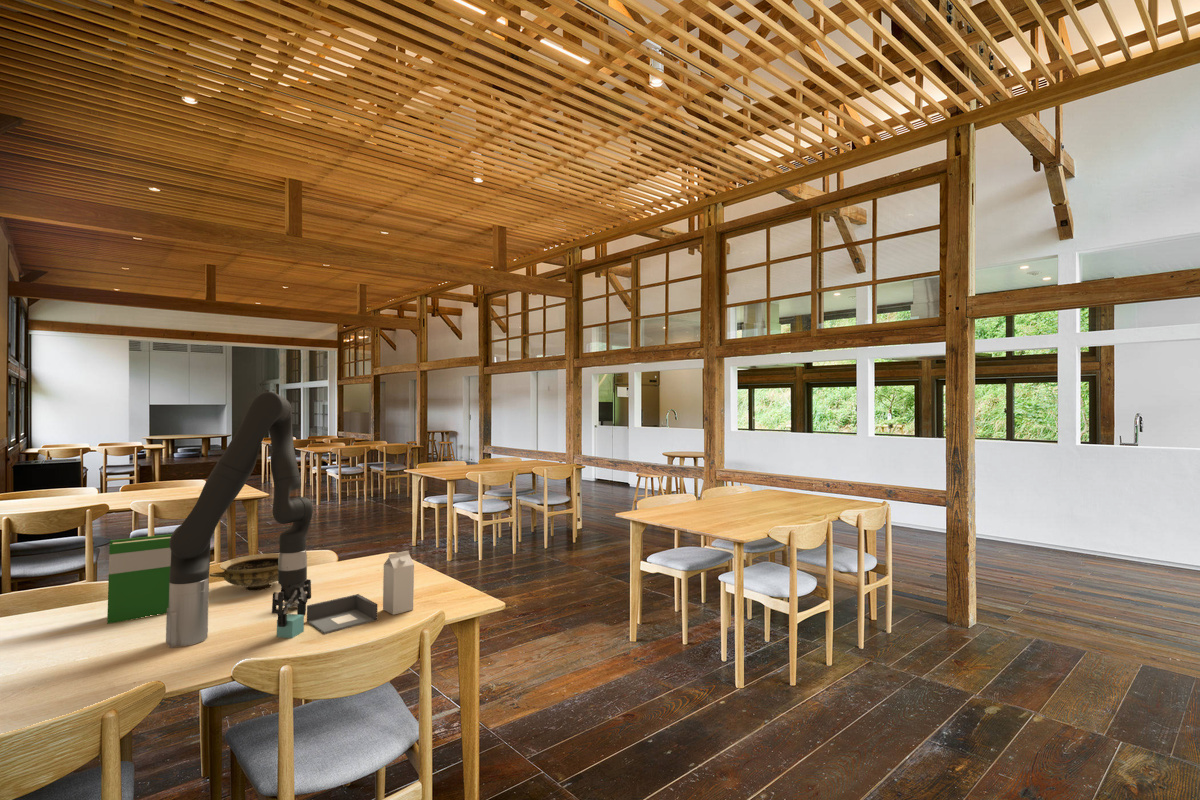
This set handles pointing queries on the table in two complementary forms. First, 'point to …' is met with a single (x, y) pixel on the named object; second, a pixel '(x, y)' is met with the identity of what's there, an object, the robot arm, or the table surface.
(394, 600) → the milk carton
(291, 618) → the cube
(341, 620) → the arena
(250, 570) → the ceramic bowl
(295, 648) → the table surface
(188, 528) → the robot arm
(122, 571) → the hardback book
